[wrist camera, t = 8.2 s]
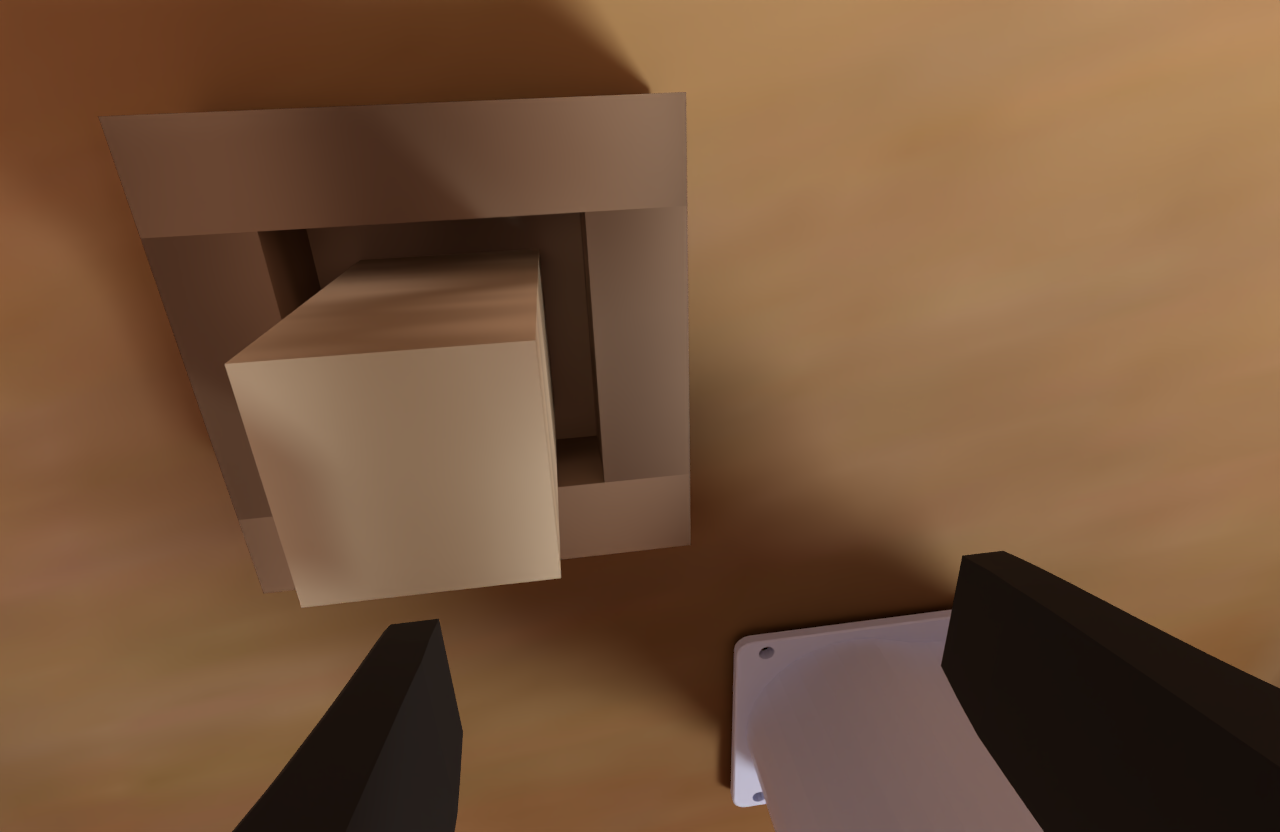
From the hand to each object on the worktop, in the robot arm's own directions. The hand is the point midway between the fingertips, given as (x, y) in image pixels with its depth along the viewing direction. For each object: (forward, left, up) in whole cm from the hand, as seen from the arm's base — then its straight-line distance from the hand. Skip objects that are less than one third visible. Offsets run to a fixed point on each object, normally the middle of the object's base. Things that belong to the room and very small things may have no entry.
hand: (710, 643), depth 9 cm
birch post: (+4, -2, -9) cm, 10 cm away
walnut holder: (+4, -2, -9) cm, 10 cm away
